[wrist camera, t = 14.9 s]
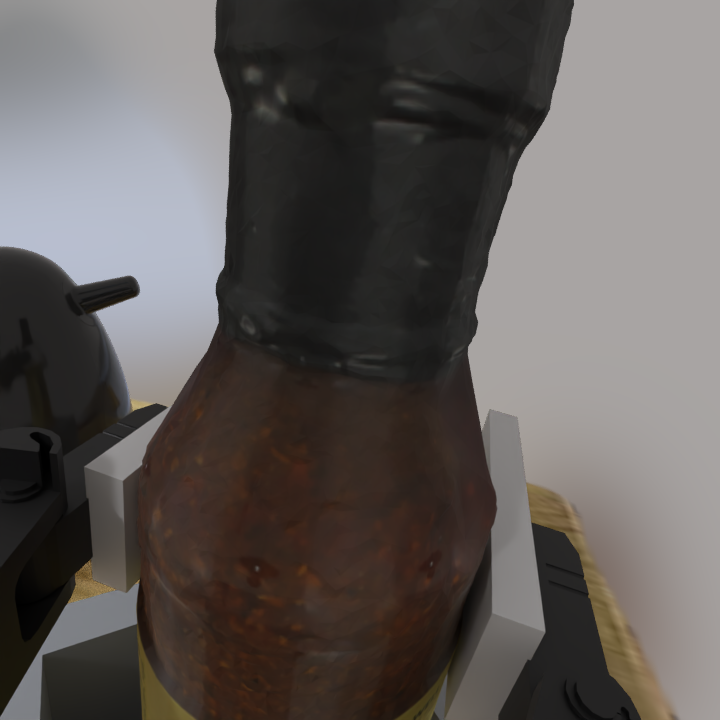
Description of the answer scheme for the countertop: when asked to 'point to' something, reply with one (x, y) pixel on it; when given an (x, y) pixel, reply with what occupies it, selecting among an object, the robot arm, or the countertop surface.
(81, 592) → the countertop surface
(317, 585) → the sauce bottle
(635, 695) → the countertop surface
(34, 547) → the robot arm
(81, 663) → the bottle holder
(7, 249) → the pump dispenser
